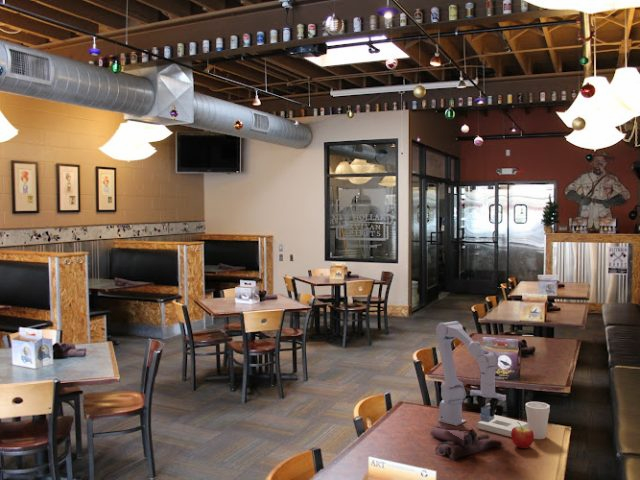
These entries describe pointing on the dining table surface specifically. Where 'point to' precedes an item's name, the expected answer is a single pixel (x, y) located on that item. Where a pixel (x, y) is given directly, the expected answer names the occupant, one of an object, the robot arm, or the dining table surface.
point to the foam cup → (537, 418)
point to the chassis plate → (501, 425)
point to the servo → (486, 413)
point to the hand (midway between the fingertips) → (487, 415)
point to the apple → (522, 436)
